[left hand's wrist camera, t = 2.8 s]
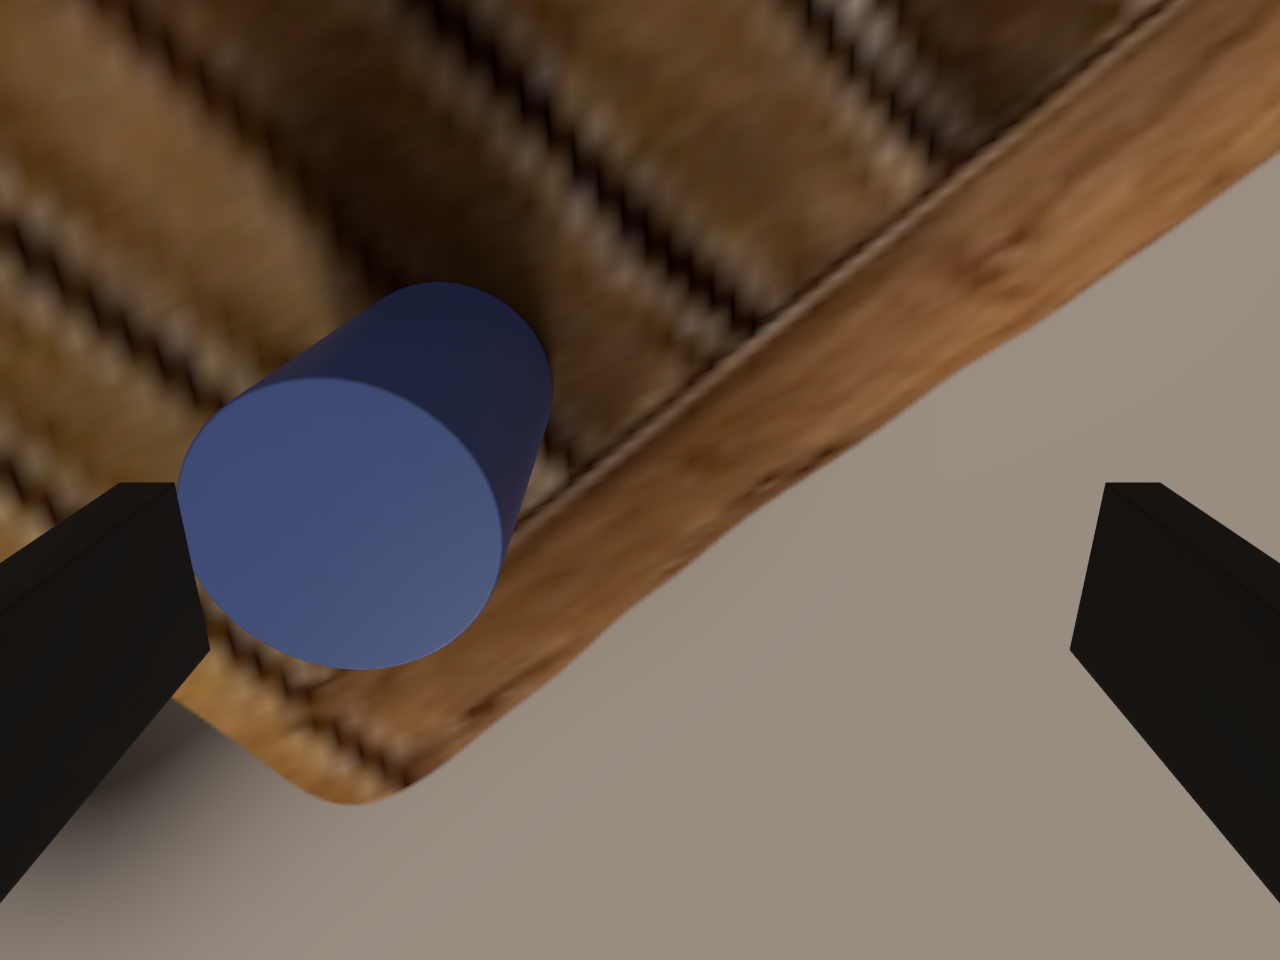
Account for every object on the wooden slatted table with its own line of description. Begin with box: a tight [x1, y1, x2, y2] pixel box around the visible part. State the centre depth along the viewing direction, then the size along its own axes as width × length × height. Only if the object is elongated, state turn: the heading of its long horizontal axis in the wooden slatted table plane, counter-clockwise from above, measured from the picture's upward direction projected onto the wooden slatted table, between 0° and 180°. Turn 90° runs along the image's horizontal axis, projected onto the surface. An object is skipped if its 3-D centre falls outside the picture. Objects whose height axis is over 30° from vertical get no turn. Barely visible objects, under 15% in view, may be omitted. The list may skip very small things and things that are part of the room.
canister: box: [177, 282, 552, 670], centre depth 26 cm, size 8×8×12 cm
